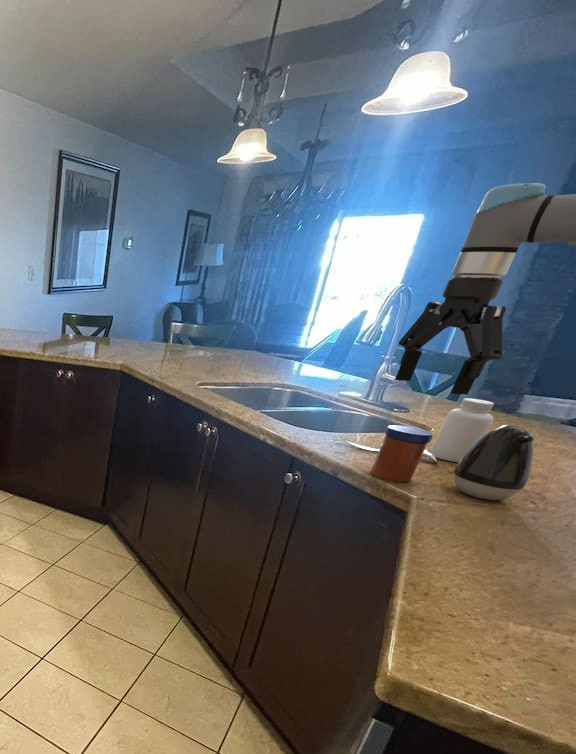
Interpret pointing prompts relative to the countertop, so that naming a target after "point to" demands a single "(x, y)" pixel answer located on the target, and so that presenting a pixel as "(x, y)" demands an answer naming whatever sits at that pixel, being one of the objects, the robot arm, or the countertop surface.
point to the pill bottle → (463, 429)
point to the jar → (397, 459)
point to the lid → (409, 434)
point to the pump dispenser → (496, 464)
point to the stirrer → (425, 453)
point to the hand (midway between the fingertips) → (428, 386)
